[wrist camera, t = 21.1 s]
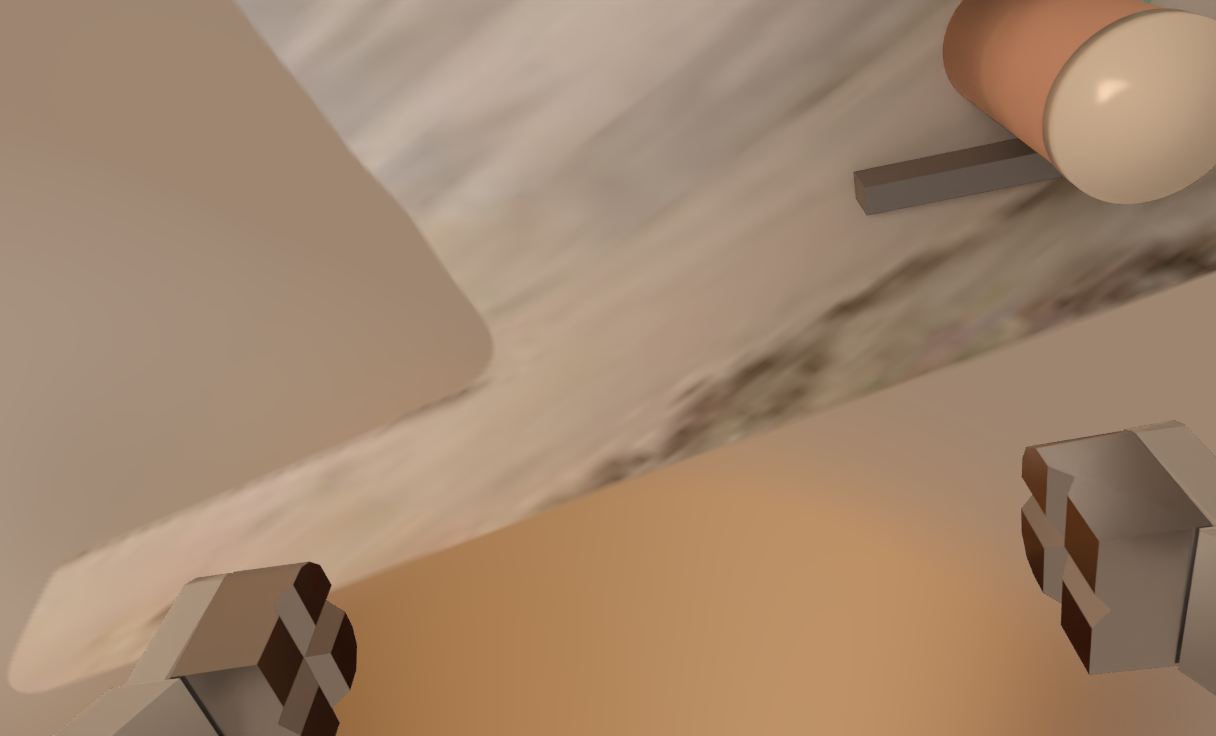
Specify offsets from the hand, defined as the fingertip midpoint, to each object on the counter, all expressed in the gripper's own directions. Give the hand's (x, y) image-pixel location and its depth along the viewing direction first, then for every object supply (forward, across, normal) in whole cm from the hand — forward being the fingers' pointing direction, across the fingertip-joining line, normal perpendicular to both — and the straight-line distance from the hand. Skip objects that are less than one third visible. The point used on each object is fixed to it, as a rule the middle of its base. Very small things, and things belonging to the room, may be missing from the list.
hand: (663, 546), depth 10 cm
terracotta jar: (+29, -14, +3) cm, 33 cm away
